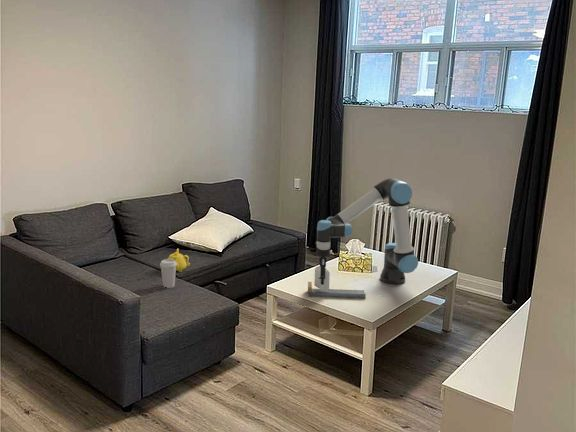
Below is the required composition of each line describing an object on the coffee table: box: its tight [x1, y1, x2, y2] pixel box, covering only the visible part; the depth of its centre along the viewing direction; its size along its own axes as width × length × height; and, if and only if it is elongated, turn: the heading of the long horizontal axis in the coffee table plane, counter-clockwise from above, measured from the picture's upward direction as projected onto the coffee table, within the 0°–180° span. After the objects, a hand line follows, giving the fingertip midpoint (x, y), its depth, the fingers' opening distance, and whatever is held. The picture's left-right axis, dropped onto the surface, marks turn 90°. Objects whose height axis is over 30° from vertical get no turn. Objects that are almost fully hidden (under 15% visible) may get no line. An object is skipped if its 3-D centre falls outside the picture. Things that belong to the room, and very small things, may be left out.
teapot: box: [167, 248, 191, 273], centre depth 344 cm, size 20×15×12 cm
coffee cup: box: [159, 258, 177, 289], centre depth 317 cm, size 10×10×15 cm
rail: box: [307, 281, 367, 300], centre depth 311 cm, size 32×9×6 cm, turn 88°
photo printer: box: [314, 265, 331, 291], centre depth 310 cm, size 10×4×12 cm, turn 34°
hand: (321, 286), depth 312 cm, fingers closed on photo printer, 9 cm apart
